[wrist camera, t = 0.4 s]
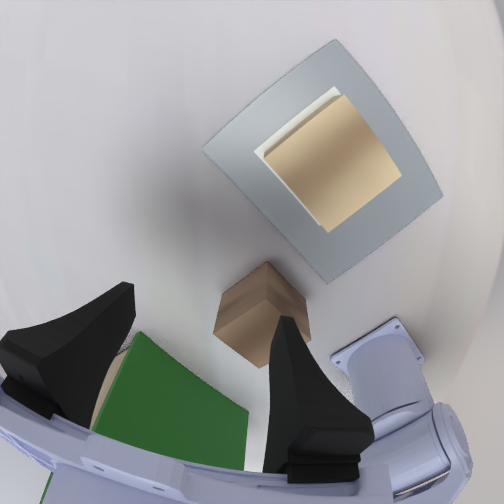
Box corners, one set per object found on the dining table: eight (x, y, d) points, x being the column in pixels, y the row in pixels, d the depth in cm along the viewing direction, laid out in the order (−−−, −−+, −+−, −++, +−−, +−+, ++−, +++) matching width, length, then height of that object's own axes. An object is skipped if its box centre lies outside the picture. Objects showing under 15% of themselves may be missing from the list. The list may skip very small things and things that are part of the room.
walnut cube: (305, 299, 24) (311, 340, 20) (261, 327, 26) (259, 368, 22) (266, 260, 23) (265, 298, 18) (222, 293, 25) (212, 333, 20)
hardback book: (107, 352, 30) (32, 525, 9) (140, 330, 28) (54, 547, 6) (208, 423, 36) (183, 572, 15) (248, 411, 33) (232, 583, 12)
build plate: (440, 193, 19) (444, 196, 18) (326, 280, 23) (327, 284, 23) (334, 40, 15) (336, 38, 14) (202, 148, 19) (200, 150, 18)
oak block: (386, 166, 18) (402, 175, 15) (320, 216, 20) (327, 233, 18) (333, 96, 16) (344, 94, 14) (264, 152, 18) (263, 158, 16)
